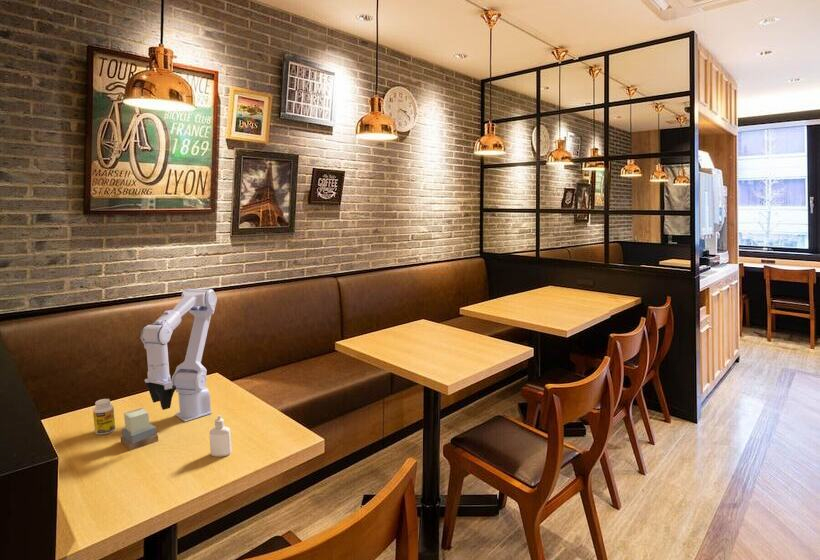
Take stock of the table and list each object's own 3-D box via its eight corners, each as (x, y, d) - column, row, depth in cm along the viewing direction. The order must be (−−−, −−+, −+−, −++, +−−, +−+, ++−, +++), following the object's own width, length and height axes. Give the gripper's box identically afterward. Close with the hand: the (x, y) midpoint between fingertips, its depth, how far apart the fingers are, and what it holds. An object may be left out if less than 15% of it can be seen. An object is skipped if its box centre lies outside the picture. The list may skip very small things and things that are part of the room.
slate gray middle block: (145, 428, 154) (145, 420, 154) (156, 434, 150) (156, 427, 150) (122, 436, 149) (121, 429, 148) (132, 443, 144) (131, 435, 144)
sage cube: (142, 423, 152) (141, 408, 151) (149, 428, 149) (148, 412, 148) (125, 428, 148) (124, 413, 148) (131, 433, 145) (130, 418, 144)
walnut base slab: (148, 434, 155) (148, 426, 155) (158, 442, 150) (157, 435, 150) (121, 443, 150) (120, 435, 149) (130, 452, 144) (129, 444, 144)
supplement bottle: (95, 437, 152) (92, 406, 150) (95, 430, 157) (91, 400, 155) (116, 432, 155) (113, 402, 153) (115, 425, 160) (112, 396, 158)
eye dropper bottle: (222, 459, 140) (220, 420, 138) (208, 455, 142) (205, 416, 140) (234, 452, 144) (231, 414, 142) (219, 448, 146) (217, 410, 144)
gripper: (135, 360, 151) (139, 402, 153) (153, 372, 141) (156, 416, 143) (159, 355, 156) (162, 395, 158) (178, 366, 146) (181, 408, 149)
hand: (161, 405), depth 151 cm, fingers open, 7 cm apart
